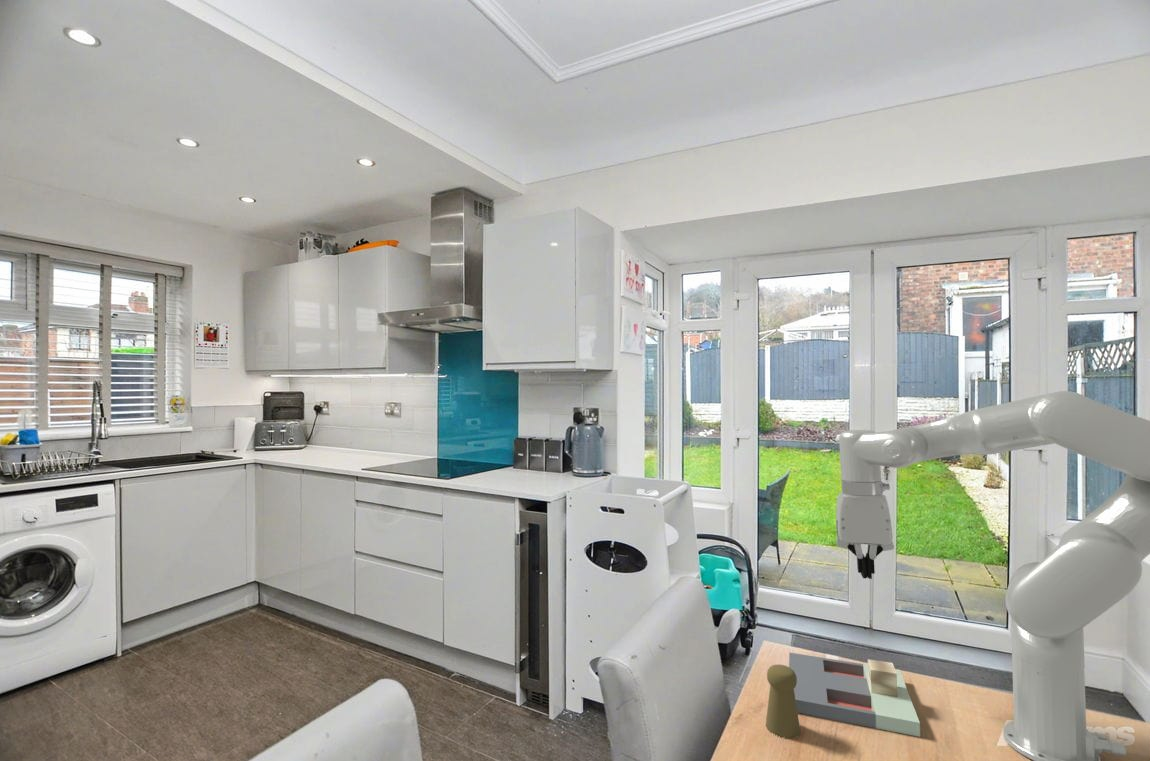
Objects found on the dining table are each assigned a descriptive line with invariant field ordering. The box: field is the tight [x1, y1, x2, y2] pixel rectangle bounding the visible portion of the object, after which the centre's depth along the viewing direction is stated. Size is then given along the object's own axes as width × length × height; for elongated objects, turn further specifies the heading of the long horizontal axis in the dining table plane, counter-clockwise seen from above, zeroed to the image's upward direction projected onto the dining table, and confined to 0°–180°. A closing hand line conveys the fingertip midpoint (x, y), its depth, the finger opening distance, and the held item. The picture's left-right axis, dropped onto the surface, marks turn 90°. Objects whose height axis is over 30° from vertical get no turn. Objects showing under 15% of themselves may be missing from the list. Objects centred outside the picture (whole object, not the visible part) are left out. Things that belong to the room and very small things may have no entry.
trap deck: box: [788, 652, 921, 738], centre depth 111 cm, size 22×20×2 cm
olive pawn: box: [765, 664, 801, 739], centre depth 101 cm, size 6×6×11 cm
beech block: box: [867, 658, 897, 697], centre depth 109 cm, size 4×4×4 cm
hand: (866, 576), depth 114 cm, fingers closed
